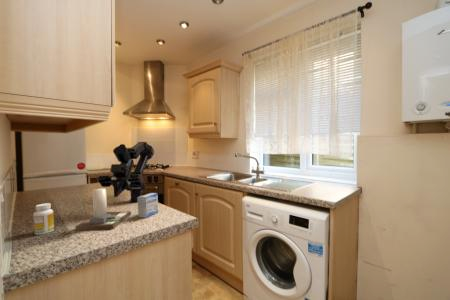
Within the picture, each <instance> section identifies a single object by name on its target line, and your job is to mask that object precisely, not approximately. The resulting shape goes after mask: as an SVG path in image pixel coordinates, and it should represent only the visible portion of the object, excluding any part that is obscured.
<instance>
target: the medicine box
mask: <svg viewBox="0 0 450 300" xmlns="http://www.w3.org/2000/svg"><path fill="white" fill-rule="evenodd" d="M158 195H159V194H158V193H157V192H149V193H146V194H142V196H140V197H137V199H138V202H137V217H138V218H142V219H144V218H145V219H147V218H150V217H152V216H154V215H156V214H157V213H159V199H158V197H159V196H158Z"/></svg>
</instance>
